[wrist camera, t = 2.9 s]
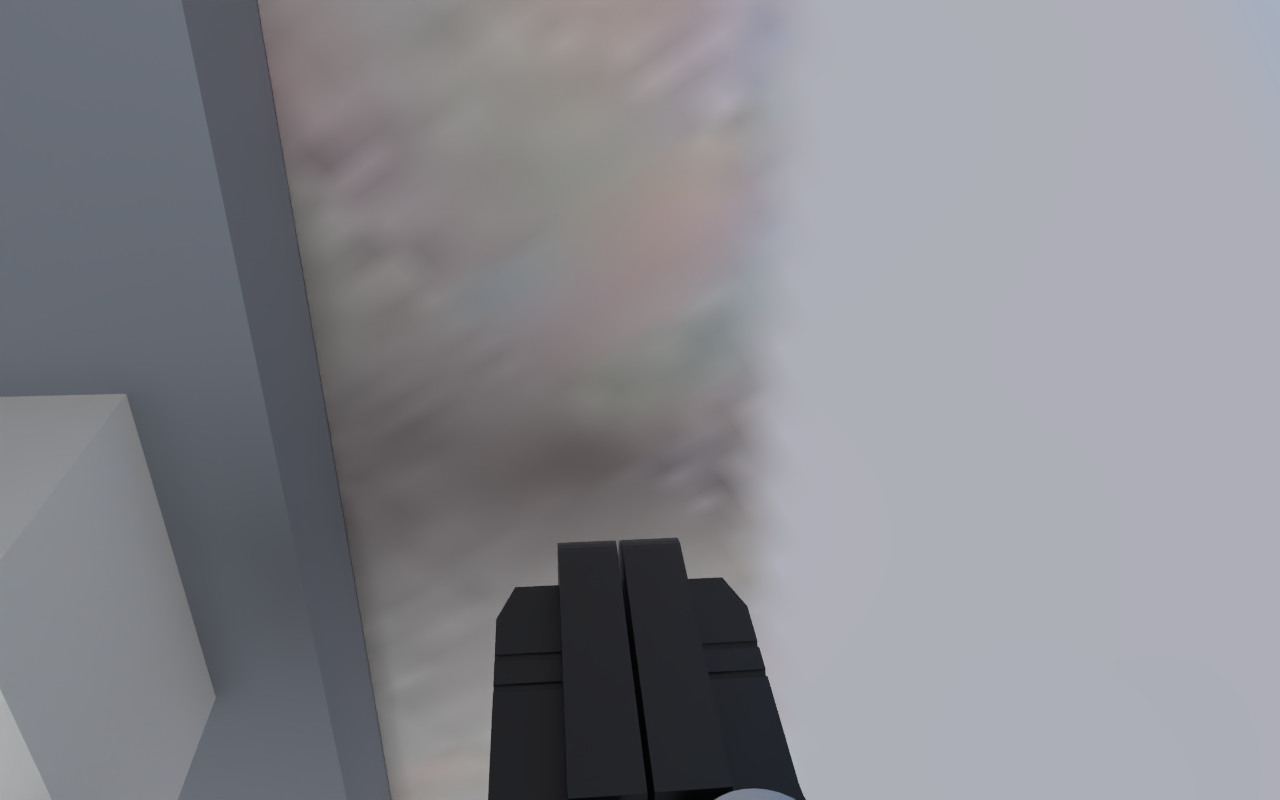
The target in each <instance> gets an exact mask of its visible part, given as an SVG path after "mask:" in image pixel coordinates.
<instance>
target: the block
mask: <svg viewBox="0 0 1280 800" xmlns="http://www.w3.org/2000/svg"><path fill="white" fill-rule="evenodd" d="M215 698H216V696H215V693H214V689H213V686H212V683H211V679H210V676H209V672H208V669H207V666H206V662H205V659H204V656H203V652H202V649H201V645H200V642H199V639H198V635H197V632H196V628H195V625H194V622H193V618H192V615H191V612H190V608H189V605H188V601H187V598H186V595H185V591H184V588H183V584H182V581H181V578H180V574H179V571H178V568H177V564H176V561H175V557H174V554H173V551H172V547H171V544H170V540H169V537H168V534H167V530H166V527H165V524H164V520H163V517H162V513H161V510H160V507H159V503H158V500H157V496H156V493H155V490H154V486H153V483H152V480H151V476H150V473H149V469H148V466H147V463H146V459H145V456H144V452H143V449H142V446H141V442H140V439H139V436H138V432H137V429H136V425H135V422H134V419H133V415H132V412H131V408H130V405H129V402H128V398H127V395H126V394H96V395H54V396H12V397H0V800H178V797H179V795H180V792H181V789H182V787H183V784H184V781H185V779H186V776H187V773H188V771H189V768H190V765H191V763H192V760H193V757H194V754H195V752H196V749H197V746H198V744H199V741H200V738H201V736H202V733H203V730H204V728H205V725H206V722H207V720H208V717H209V714H210V712H211V709H212V706H213V704H214V701H215Z"/></svg>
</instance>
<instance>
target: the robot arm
mask: <svg viewBox="0 0 1280 800" xmlns="http://www.w3.org/2000/svg"><path fill="white" fill-rule="evenodd" d="M488 800H806V799H805V798H804V796H803V794H802V791H801V788H800V786H799V783H798V780H797V776H796V773H795V769H794V766H793V762H792V759H791V756H790V752H789V749H788V745H787V742H786V738H785V735H784V731H783V728H782V725H781V721H780V718H779V714H778V711H777V707H776V704H775V700H774V697H773V694H772V690H771V687H770V683H769V680H768V676H766V674H765V666H764V663H763V659H762V656H761V652H760V649H759V647H757V638H756V635H755V632H754V628H753V625H752V621H751V618H750V614H749V611H748V607H747V606H746V604H745V603H744V602H743V601H742V600H741V599H740V598H739V596H738V595H737V594H736V593H735V592H734V591H733V590H732V588H731V587H730V586H729V585H728V584H727V583H726V582H725V580H724V579H723V578H701V579H688V578H687V574H686V569H685V564H684V560H683V555H682V551H681V546H680V543H679V540H678V538H660V539H636V540H620V541H619V550H618V553H617V546H616V541H594V542H570V543H558V585H555V586H534V587H515V589H514V591H513V592H512V594H511V596H510V597H509V599H508V601H507V602H506V604H505V606H504V607H503V609H502V611H501V612H500V614H499V616H498V617H497V620H496V642H495V664H494V693H493V707H492V729H491V750H490V772H489V794H488Z"/></svg>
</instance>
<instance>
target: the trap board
mask: <svg viewBox="0 0 1280 800" xmlns="http://www.w3.org/2000/svg"><path fill="white" fill-rule="evenodd" d="M96 394H126V395H127V398H128V402H129V405H130V408H131V412H132V415H133V419H134V422H135V425H136V429H137V432H138V436H139V439H140V442H141V446H142V449H143V452H144V456H145V459H146V463H147V466H148V469H149V473H150V476H151V480H152V483H153V486H154V490H155V493H156V496H157V500H158V503H159V507H160V510H161V513H162V517H163V520H164V524H165V527H166V530H167V534H168V537H169V540H170V544H171V547H172V551H173V554H174V557H175V561H176V564H177V568H178V571H179V574H180V578H181V581H182V584H183V588H184V591H185V595H186V598H187V601H188V605H189V608H190V612H191V615H192V618H193V622H194V625H195V628H196V632H197V635H198V639H199V642H200V645H201V649H202V652H203V656H204V659H205V662H206V666H207V669H208V672H209V676H210V679H211V683H212V686H213V689H214V693H215V696H216V698H215V701H214V704H213V706H212V709H211V712H210V714H209V717H208V720H207V722H206V725H205V728H204V730H203V733H202V736H201V738H200V741H199V744H198V746H197V749H196V752H195V754H194V757H193V760H192V763H191V765H190V768H189V771H188V773H187V776H186V779H185V781H184V784H183V787H182V789H181V792H180V795H179V797H178V800H391V796H390V790H389V784H388V778H387V772H386V767H385V761H384V755H383V749H382V743H381V737H380V731H379V725H378V719H377V713H376V707H375V701H374V695H373V689H372V683H371V677H370V671H369V666H368V660H367V654H366V648H365V642H364V636H363V630H362V624H361V618H360V612H359V606H358V600H357V594H356V588H355V582H354V576H353V570H352V565H351V559H350V553H349V547H348V541H347V535H346V529H345V523H344V517H343V511H342V505H341V499H340V493H339V487H338V481H337V475H336V469H335V463H334V458H333V452H332V446H331V440H330V434H329V428H328V422H327V416H326V410H325V404H324V398H323V392H322V386H321V380H320V374H319V368H318V362H317V357H316V351H315V345H314V339H313V333H312V327H311V321H310V315H309V309H308V303H307V297H306V291H305V285H304V279H303V273H302V267H301V261H300V256H299V250H298V244H297V238H296V232H295V226H294V220H293V214H292V208H291V202H290V196H289V190H288V184H287V178H286V172H285V166H284V160H283V155H282V149H281V143H280V137H279V131H278V125H277V119H276V113H275V107H274V101H273V95H272V89H271V83H270V77H269V71H268V65H267V59H266V53H265V48H264V42H263V36H262V30H261V24H260V18H259V12H258V6H257V0H0V397H12V396H54V395H96Z"/></svg>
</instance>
